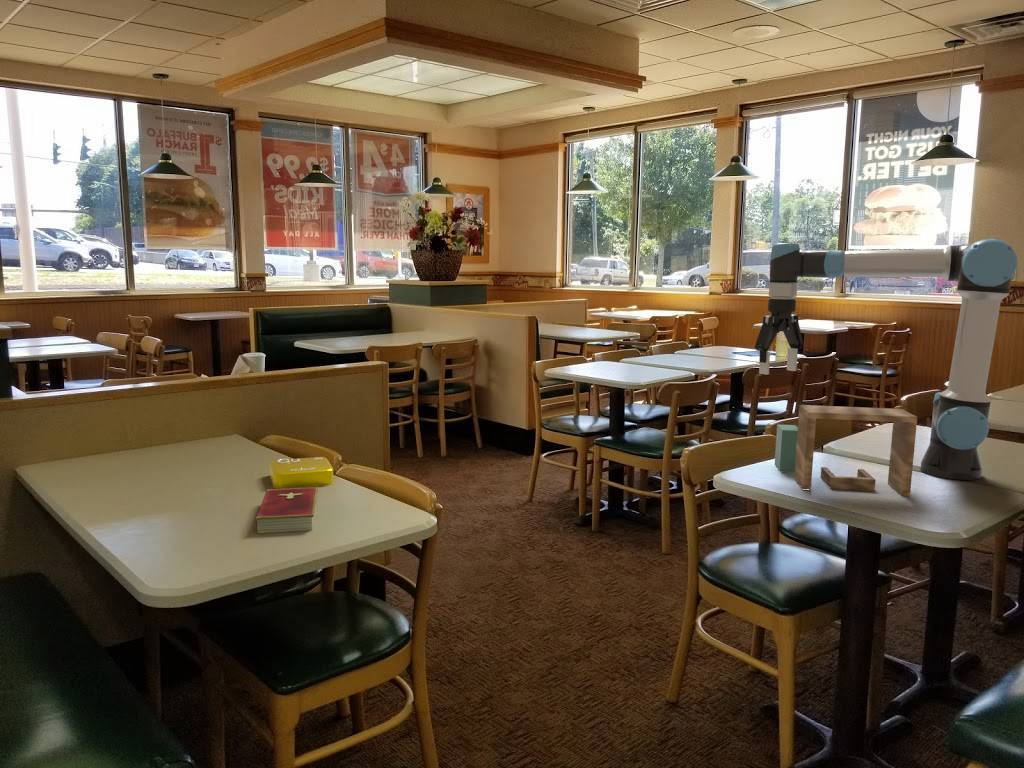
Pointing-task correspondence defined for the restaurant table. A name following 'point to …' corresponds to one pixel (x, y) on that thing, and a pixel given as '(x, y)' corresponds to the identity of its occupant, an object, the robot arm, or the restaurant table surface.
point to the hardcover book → (287, 510)
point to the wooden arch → (864, 481)
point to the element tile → (301, 472)
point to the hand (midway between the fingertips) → (777, 372)
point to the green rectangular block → (786, 447)
